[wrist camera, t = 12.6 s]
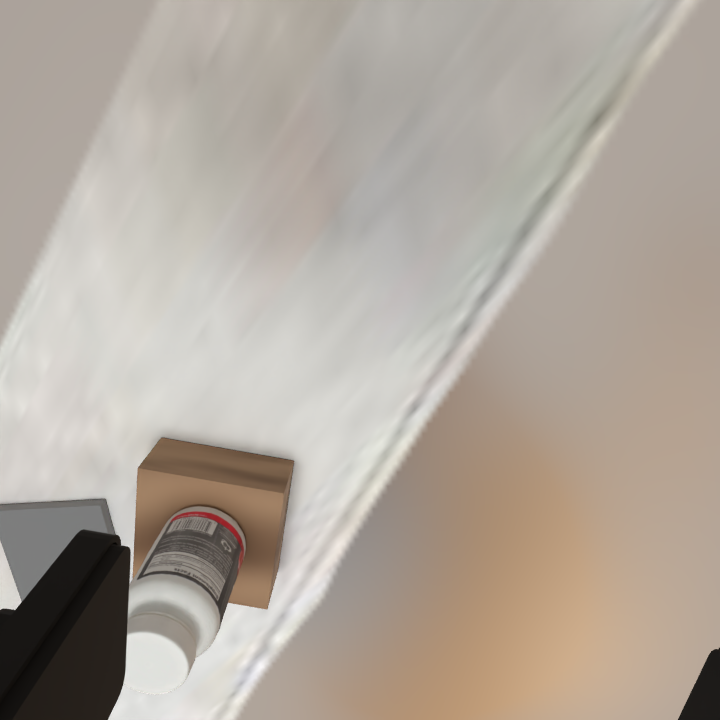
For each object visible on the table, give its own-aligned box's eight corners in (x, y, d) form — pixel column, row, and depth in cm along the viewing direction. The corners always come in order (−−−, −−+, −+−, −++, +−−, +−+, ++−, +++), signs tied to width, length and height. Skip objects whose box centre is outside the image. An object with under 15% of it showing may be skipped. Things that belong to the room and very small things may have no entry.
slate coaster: (-3, 504, 43) (-10, 511, 43) (105, 498, 43) (100, 505, 42) (28, 595, 46) (22, 603, 45) (130, 591, 46) (126, 599, 45)
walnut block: (161, 437, 41) (137, 467, 37) (294, 460, 41) (283, 493, 37) (154, 547, 44) (132, 585, 40) (278, 569, 44) (267, 609, 40)
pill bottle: (218, 588, 40) (166, 722, 31) (148, 544, 39) (72, 670, 30) (264, 534, 38) (223, 659, 29) (192, 487, 37) (126, 601, 28)
